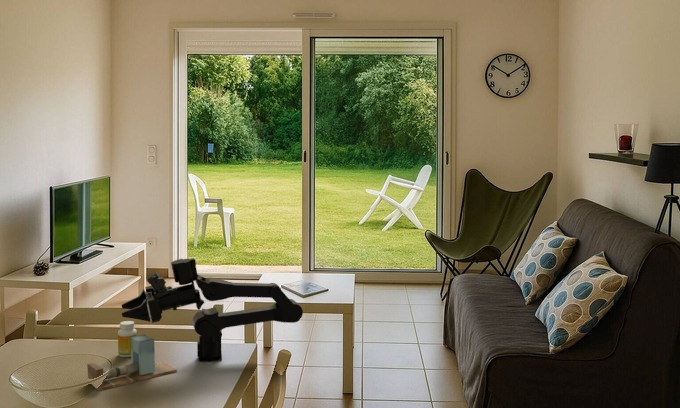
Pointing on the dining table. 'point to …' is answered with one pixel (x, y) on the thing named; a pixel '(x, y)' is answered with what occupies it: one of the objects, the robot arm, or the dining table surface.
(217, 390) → the dining table surface
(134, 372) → the pipe rig
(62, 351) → the dining table surface
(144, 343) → the light blue upright block
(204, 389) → the dining table surface
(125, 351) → the supplement bottle
